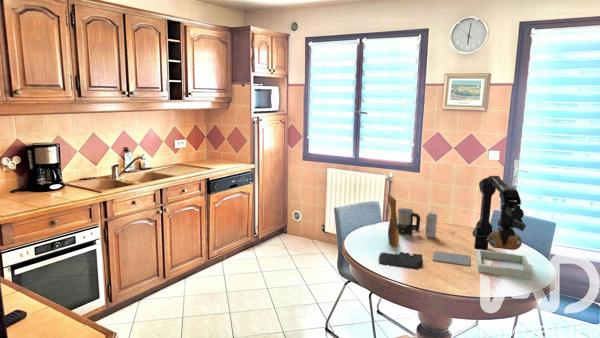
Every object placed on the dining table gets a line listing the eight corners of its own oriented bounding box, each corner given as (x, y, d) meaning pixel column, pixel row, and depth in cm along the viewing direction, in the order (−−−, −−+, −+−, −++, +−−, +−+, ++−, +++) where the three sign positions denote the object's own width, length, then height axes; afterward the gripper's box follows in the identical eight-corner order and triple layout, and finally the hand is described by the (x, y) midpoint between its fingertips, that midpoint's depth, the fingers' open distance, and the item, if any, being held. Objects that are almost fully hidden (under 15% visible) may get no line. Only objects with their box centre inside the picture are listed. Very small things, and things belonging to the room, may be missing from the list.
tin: (487, 247, 206) (488, 231, 204) (487, 245, 208) (488, 229, 207) (521, 251, 200) (522, 234, 199) (520, 249, 203) (521, 233, 202)
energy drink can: (437, 237, 248) (439, 214, 246) (428, 238, 247) (430, 214, 244) (431, 234, 254) (433, 211, 252) (423, 235, 252) (424, 212, 250)
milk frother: (397, 234, 254) (398, 211, 252) (395, 226, 269) (397, 205, 267) (420, 236, 252) (422, 212, 249) (418, 228, 267) (419, 206, 264)
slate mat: (432, 260, 212) (432, 259, 212) (434, 251, 225) (434, 250, 225) (470, 266, 206) (470, 265, 206) (469, 256, 218) (469, 255, 218)
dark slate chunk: (379, 255, 221) (380, 246, 220) (422, 259, 215) (422, 251, 214) (377, 265, 206) (378, 256, 205) (423, 270, 200) (423, 261, 200)
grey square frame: (477, 271, 199) (478, 264, 199) (476, 255, 220) (477, 249, 220) (531, 279, 191) (532, 272, 190) (524, 262, 212) (525, 255, 212)
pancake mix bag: (387, 247, 230) (390, 199, 226) (385, 236, 249) (387, 192, 244) (399, 248, 229) (402, 200, 225) (396, 237, 248) (398, 192, 243)
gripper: (528, 221, 190) (524, 252, 192) (523, 211, 207) (519, 240, 209) (501, 218, 194) (498, 249, 196) (498, 208, 211) (495, 237, 213)
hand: (504, 244), depth 204 cm, fingers closed on tin, 2 cm apart
